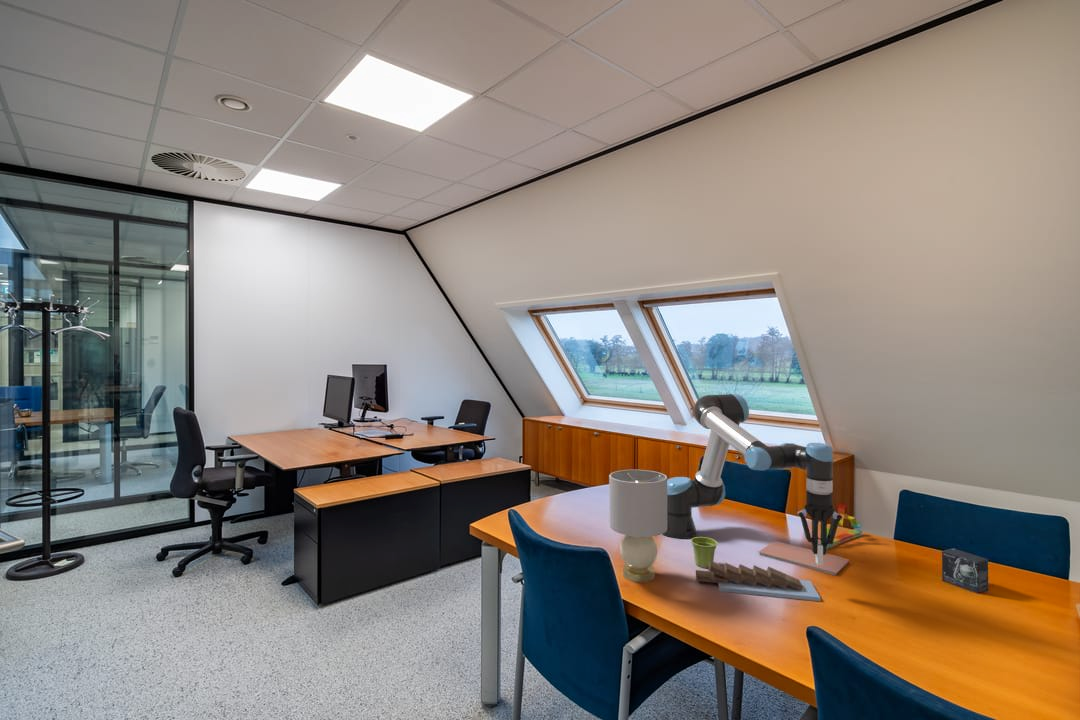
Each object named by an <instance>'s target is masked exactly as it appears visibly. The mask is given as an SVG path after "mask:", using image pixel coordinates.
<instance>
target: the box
mask: <svg viewBox="0 0 1080 720" xmlns="http://www.w3.org/2000/svg"><path fill="white" fill-rule="evenodd" d="M941 563H942V564H941V581H942V582H944V583H947V584H950V585H952V586H956V587H958V588H961V589H963V590H966V591H969V592H972V593H975V594H981V593H984V592H987V591H989V589H990V588H989V559H988V558H986V557H982V556H979V555H975V554H973V553H971V552H966V551H963V550H960V549H956V548H949V549H945V550H942V551H941Z"/></svg>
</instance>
